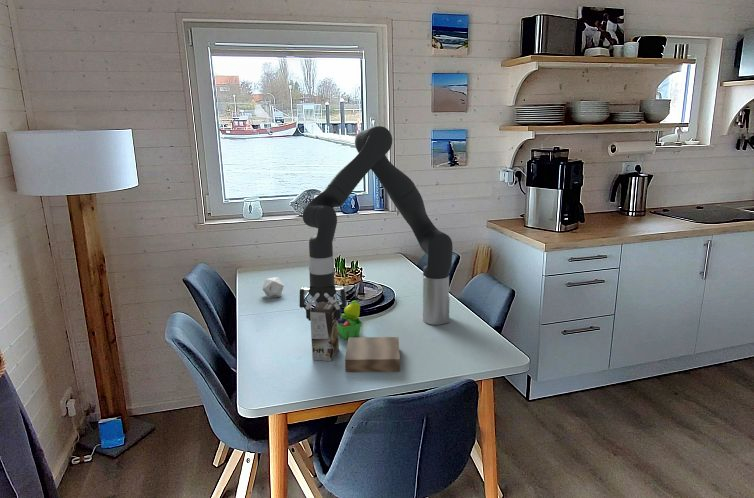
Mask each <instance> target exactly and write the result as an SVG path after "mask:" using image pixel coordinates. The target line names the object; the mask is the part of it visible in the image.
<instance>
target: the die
mask: <svg viewBox="0 0 754 498" xmlns="http://www.w3.org/2000/svg"><path fill="white" fill-rule="evenodd" d="M283 290H284V284H283V282H282V281H281V280H280V278H279V277H278V276H275V277H268V278H265V280H264V284H263V286H262V291H263V292H264V294H265V296H266V297H267V298H268V299H273V298H279V297H282V296H281V295H282V292H283Z"/></svg>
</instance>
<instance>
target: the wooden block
mask: <svg viewBox="0 0 754 498" xmlns="http://www.w3.org/2000/svg"><path fill="white" fill-rule="evenodd" d="M347 339H348V340H347V346H346V350H345V359H344V364H345V365H344V368H345V369H344V370H345V373H370V372H371V373H372V372H373V373H375V372H376V373H377V372H378V373H380V372H381V373H382V372H383V373H385V372H386V373H388V372H395V373H396V372H399V373H400V372H401V367H400V366H401V365H400V363H401V362H400V359H401V358H400V357H401V356H400V341H399V336H381V337H380V336H377V337H376V336H367V337H366V336H365V337H364V336H363V337H361V336H360V337H359V336H358V337H353V338H347Z"/></svg>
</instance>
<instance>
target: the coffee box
mask: <svg viewBox="0 0 754 498" xmlns="http://www.w3.org/2000/svg"><path fill="white" fill-rule="evenodd" d="M310 320H311V321H310V336H311V337H310V339H311V355H312V360H313V361H325V362H332V361H333V359H334V358H335V356H336V354H337V353H338V351H339V348H340V343H339V342H340V340H339V332H338V321H336V308H335V306H334V305H332V304H331V302H330V301H329V302H317V303H316V304H315V305H314V307H313V308H311V311H310Z"/></svg>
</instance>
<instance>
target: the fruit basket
mask: <svg viewBox="0 0 754 498" xmlns="http://www.w3.org/2000/svg"><path fill="white" fill-rule="evenodd" d="M360 311H361V305H360V301H357V300H352V301H350V304H348V305H346V307H345V308H344V309H343V312H344V313H341V317H340V319H339V320H338V334H340V336H341V337H342V338H343V340H347V339H348V338H353V337H359V335H360V332H361V327H362V325H363V322H362V321H361V320H360V319H359V317H360V313H361V312H360Z"/></svg>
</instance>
